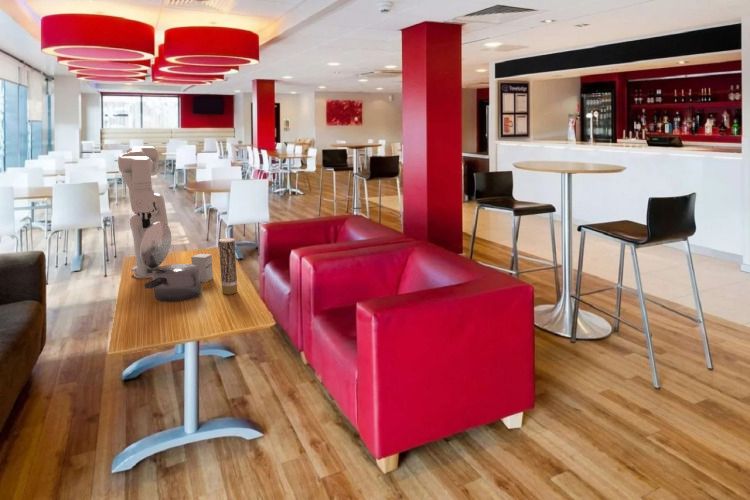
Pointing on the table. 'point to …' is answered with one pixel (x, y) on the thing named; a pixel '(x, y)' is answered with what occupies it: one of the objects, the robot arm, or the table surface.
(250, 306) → the table surface
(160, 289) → the pressure cooker pot
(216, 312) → the table surface
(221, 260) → the brown cylindrical piece
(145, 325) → the table surface
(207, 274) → the supplement box
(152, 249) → the cooker lid
